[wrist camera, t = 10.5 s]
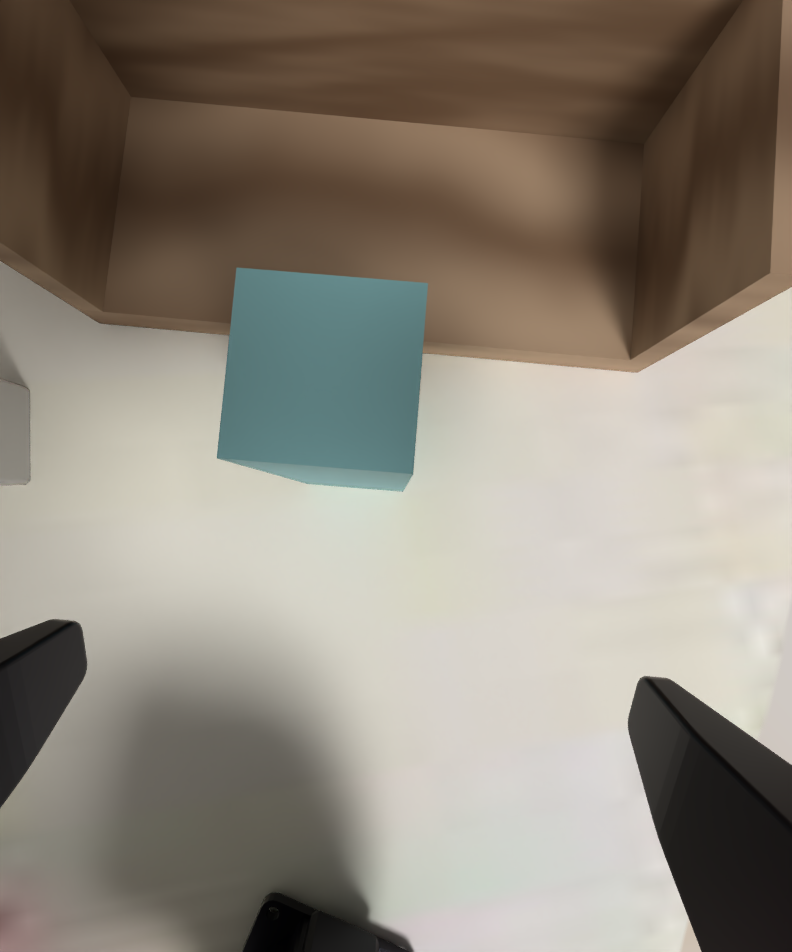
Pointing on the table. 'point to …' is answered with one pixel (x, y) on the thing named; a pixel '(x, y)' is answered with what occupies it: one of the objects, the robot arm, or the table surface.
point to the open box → (407, 162)
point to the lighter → (14, 434)
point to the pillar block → (324, 378)
